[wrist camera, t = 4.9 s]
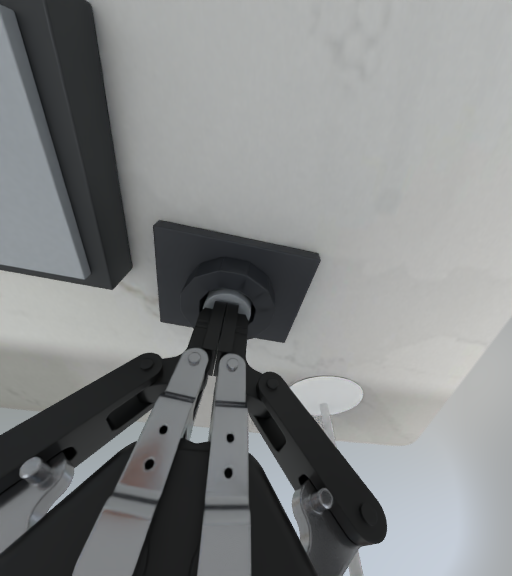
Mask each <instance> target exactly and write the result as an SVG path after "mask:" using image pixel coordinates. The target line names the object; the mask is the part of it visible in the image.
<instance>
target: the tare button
mask: <svg viewBox="0 0 512 576" xmlns="http://www.w3.org/2000/svg"><path fill="white" fill-rule="evenodd" d="M215 301H219V302H225V303H227V304H228V303H231V304H236V305H239V309H238V313H239V314H245V315H246V316H247V319H248V320H249V319H250V316H251V306H252V300H251V299H250V298H249V297H248V296H246V295H245V294H243V293H242V292H240V291H237V290H232V289H227V288H220V289H216V290H212V291H209V292H208V294H207V297H206V300H205V303H204V306H203V309H204V308H211V309H213V307H214V303H215ZM226 309H227V305H226ZM225 314H226V311H225ZM224 318H225V317H224ZM223 323H224V322H223Z"/></svg>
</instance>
